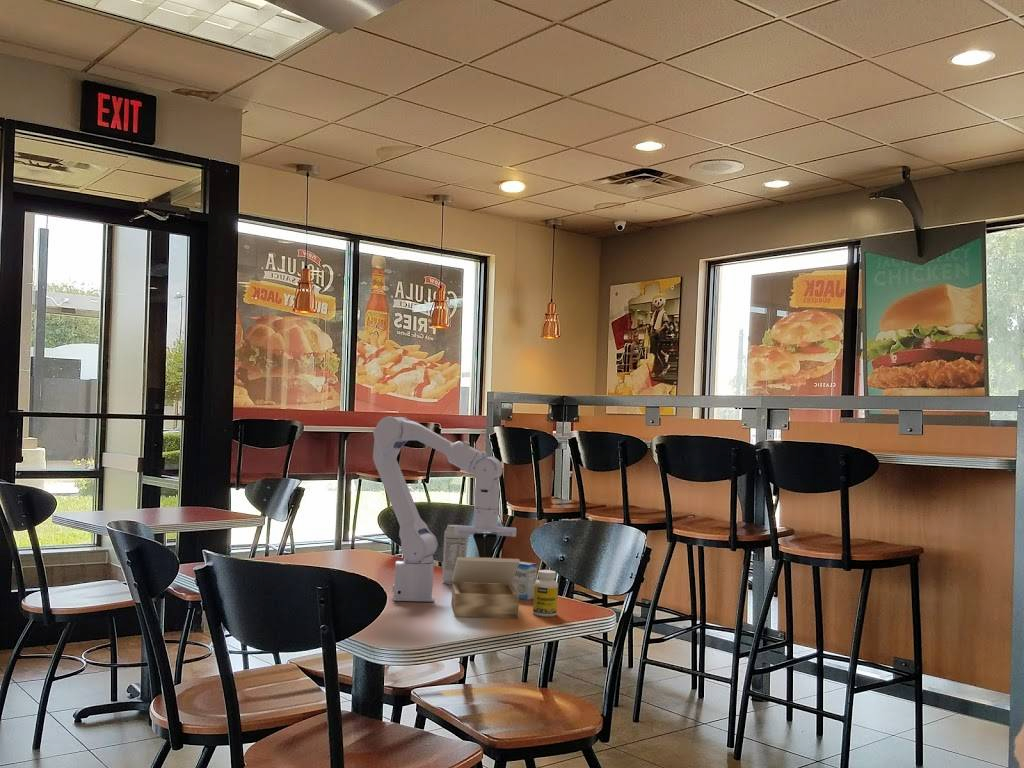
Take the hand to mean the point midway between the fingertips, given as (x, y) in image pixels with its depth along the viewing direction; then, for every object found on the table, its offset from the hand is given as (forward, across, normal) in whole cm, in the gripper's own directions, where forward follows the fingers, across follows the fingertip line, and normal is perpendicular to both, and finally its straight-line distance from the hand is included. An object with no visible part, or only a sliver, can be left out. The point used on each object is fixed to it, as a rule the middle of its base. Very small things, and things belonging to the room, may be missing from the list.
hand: (483, 566), depth 221 cm
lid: (+1, 0, -6) cm, 6 cm away
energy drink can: (+9, -5, +29) cm, 30 cm away
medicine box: (+9, +10, +12) cm, 18 cm away
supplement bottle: (+9, +14, -8) cm, 19 cm away
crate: (+9, 0, -6) cm, 11 cm away
